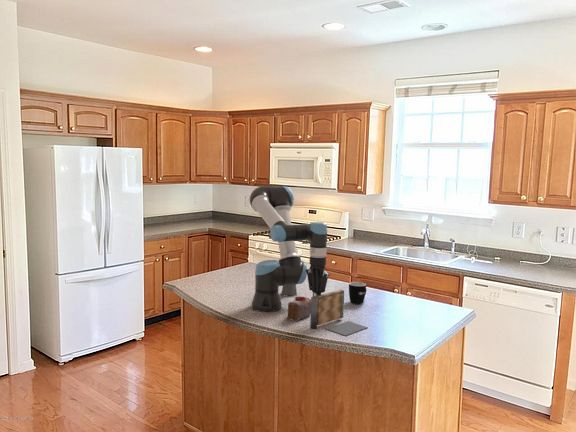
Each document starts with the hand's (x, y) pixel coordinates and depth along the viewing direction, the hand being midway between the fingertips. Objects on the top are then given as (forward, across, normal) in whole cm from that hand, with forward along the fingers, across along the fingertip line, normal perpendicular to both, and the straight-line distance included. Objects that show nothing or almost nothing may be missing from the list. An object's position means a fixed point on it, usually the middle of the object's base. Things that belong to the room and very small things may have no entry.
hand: (316, 306), depth 214 cm
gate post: (+7, +6, -8) cm, 12 cm away
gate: (+6, +6, +3) cm, 9 cm away
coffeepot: (+7, -40, +23) cm, 47 cm away
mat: (+7, +16, +3) cm, 18 cm away
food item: (+7, -9, -1) cm, 12 cm away
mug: (+7, -6, +40) cm, 41 cm away
